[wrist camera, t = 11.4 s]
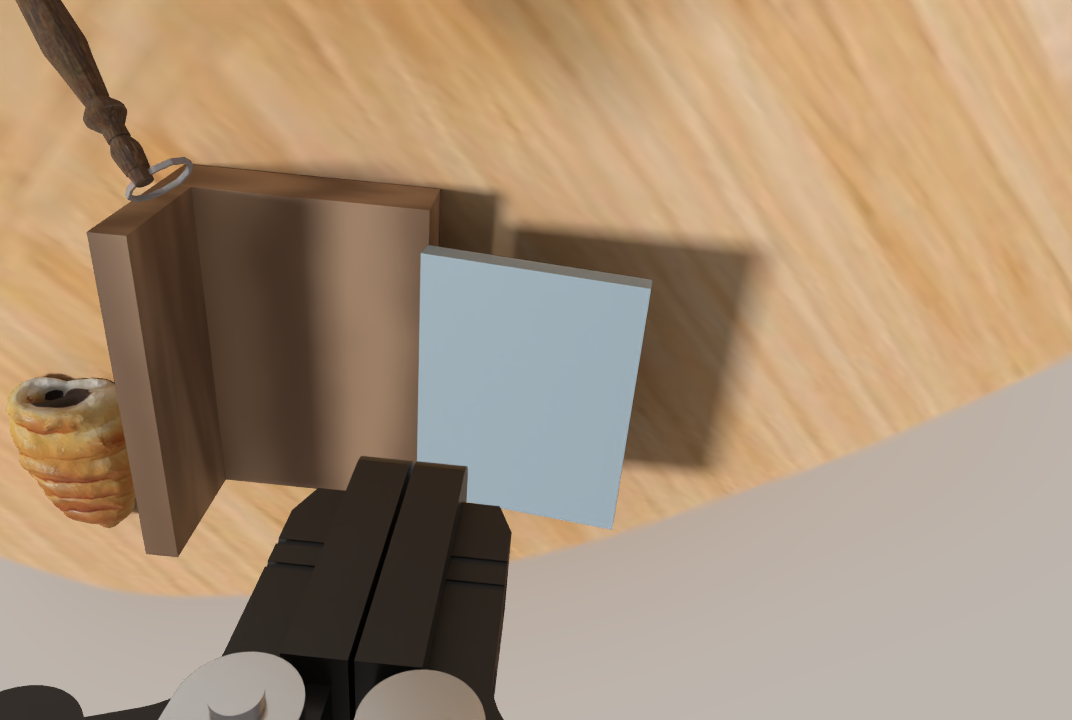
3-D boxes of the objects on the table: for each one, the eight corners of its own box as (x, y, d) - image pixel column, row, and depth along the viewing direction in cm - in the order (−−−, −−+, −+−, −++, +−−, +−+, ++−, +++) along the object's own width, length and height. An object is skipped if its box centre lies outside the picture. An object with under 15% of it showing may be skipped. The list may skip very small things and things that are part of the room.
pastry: (169, 510, 51) (139, 553, 48) (59, 504, 51) (22, 547, 48) (134, 373, 46) (98, 411, 43) (14, 368, 47) (-31, 405, 43)
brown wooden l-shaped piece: (440, 188, 40) (403, 263, 32) (432, 465, 48) (400, 580, 40) (185, 163, 40) (86, 232, 32) (219, 444, 48) (146, 553, 40)
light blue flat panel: (416, 491, 43) (611, 529, 42) (420, 253, 37) (651, 289, 36) (427, 471, 45) (616, 507, 44) (433, 238, 39) (654, 272, 37)
